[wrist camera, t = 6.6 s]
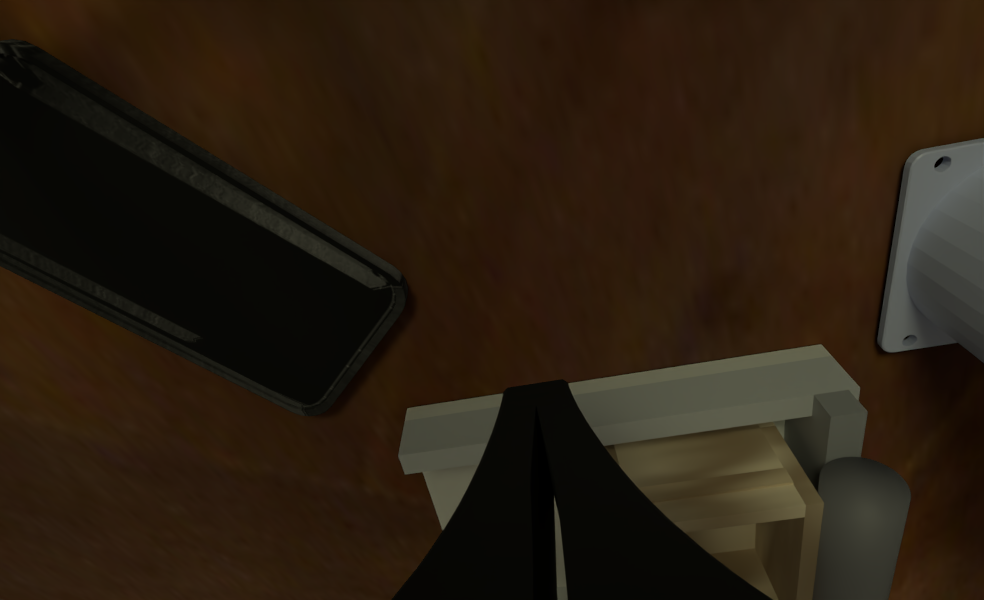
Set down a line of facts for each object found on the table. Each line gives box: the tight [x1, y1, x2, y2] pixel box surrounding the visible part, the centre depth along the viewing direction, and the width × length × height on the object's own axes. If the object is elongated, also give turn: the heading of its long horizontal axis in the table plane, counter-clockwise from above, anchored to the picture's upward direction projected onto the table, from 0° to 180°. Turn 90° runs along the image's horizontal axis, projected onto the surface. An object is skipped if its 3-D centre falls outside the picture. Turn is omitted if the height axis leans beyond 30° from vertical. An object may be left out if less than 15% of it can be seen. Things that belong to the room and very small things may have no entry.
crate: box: [604, 422, 824, 600], centre depth 24 cm, size 7×8×4 cm
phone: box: [0, 39, 408, 416], centre depth 21 cm, size 8×1×15 cm
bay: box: [398, 344, 911, 600], centre depth 24 cm, size 17×13×7 cm
